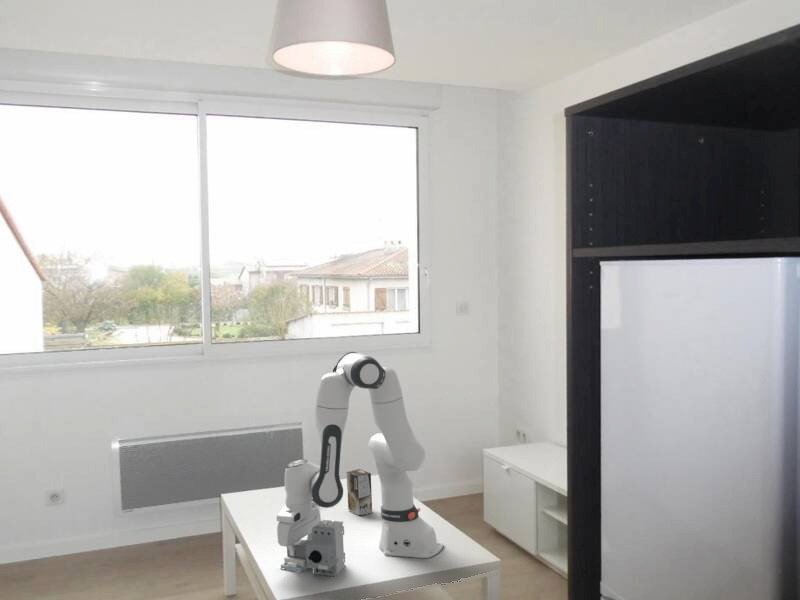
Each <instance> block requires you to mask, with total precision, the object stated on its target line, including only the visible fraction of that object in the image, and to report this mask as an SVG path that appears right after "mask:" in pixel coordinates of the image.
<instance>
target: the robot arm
mask: <svg viewBox="0 0 800 600" xmlns="http://www.w3.org/2000/svg"><path fill="white" fill-rule="evenodd" d="M355 387H358V388H361V389H368V393H369V395H370V403H371V410H372V415H373V420H374V423H375V426H376V427H377V428H378V430H379V431H380V432H378V433H375V434H373V435H372V436H371V438H370V439H369V440H368V444H367V451H368V454H369V456H370V458H371V459H372V460H373V463H374V465H375V468H376V471H377V474H378V479H379V483H380V488H381V489H380V491H381V507H380V512H381V513H380V514H381V516H380V517H381V518H380V519H381V535H380V541H379V545H378V548H379V550H380V551H382V552H383V554H384V555H385V556H392V557H393V556H394V557H404V558H408V557H409V558H417V559H428V558H431V557H434V556H435V555H437V554H438V553H440V552H441V551H442V550H443V548H444V542H443V541H441V540H437V536H436V535H437V534H436V531H435V529H434V527H432V525H430V524H429V523H427V521H425V520H424V519H423V518H422V517H421V516H420V515H419V513H420V512H421V507H418V508H417V507H416V505H415V504H414V485H413V482H412V480H411V478H410V476H409V475H408V473H407V472H414V471H417V470H420V468H421V467H423V464H424V463H425V459H426V452H425V448H424V447H423V446H422V444H420V442H419V441H418V439H417V437H416V436H415V434H414V431H413V429H412V428H411V425H410V422H409V420H408V417H407V413H406V409H405V403H404V398H403V397H404V396H403V393H402V392H403V391H402V388H401V383H400V380H399V378H398V375H397V372H396V370H395V369H394V368H393V367H390V366H382V365H381V364H380V362H378V361H377V359H376V358H373V357H371V356H369V355H367V354H365V353H361V352H360V353H359V352H355V351H350V352H346V353H344V354H343V355H340V357H339V359H338V360H337V362H336V364H335V366H334V368H332V372H329V373H326V374H324V375H323V376H322V377H321V379H320V381H319V385H318V389H317V393H316V399H315V409H314V416H315V417H314V418H315V426H316V431H317V434H318V436H319V440H320V461H319V465H318V464H315V463H312V462H310V461H309V460H308V459H304V458H303V459H297V460H294V461H291V462H290V463H288V464H287V465H286V468H285V469H284V471H285V472H284V491H285V494H286V496H285V505H284V506H283V507H282V509H281V510H280V511H279V513H277V514H276V521H277V522H278V524H277V528H276V531H277V543H278V544H279V546H281V547H285V548H286V549H287V548H288V549H289V554H290V556H294V555H296V549H294V547H293V546H294V543H295V542H297V541H298V540H300V539H301V540H303V538H305V537H306V536H307V537H306V540H307V541H311V540H312V528H313V527H314V526H315V525H317V524H318V523H319V522H321V521H322V519H321V518H322V517H321V512H320V508H319V507H322V508H324V509H325V508H327V509H328V508H332V507H335V506H336V505H338V504H339V503H340V502H341V500H342V498H343V497H344V488H343V483H342V481H341V478H340V467H341V465H340V463H341V450H342V449H341V448H342V442H343V437H344V433H345V428H346V423H347V420H348V414H349V405H350V397H351V393H352V391H353V390H354V388H355ZM318 506H319V507H318Z"/></svg>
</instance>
